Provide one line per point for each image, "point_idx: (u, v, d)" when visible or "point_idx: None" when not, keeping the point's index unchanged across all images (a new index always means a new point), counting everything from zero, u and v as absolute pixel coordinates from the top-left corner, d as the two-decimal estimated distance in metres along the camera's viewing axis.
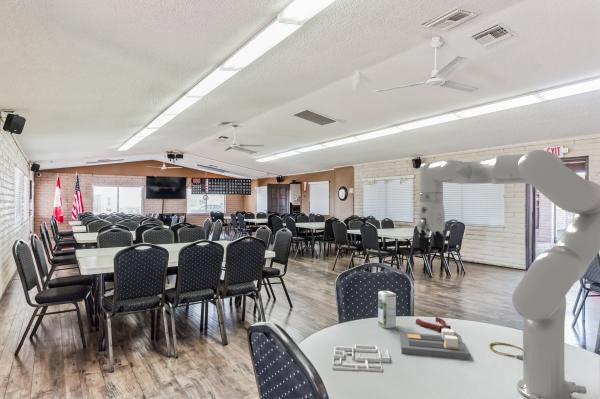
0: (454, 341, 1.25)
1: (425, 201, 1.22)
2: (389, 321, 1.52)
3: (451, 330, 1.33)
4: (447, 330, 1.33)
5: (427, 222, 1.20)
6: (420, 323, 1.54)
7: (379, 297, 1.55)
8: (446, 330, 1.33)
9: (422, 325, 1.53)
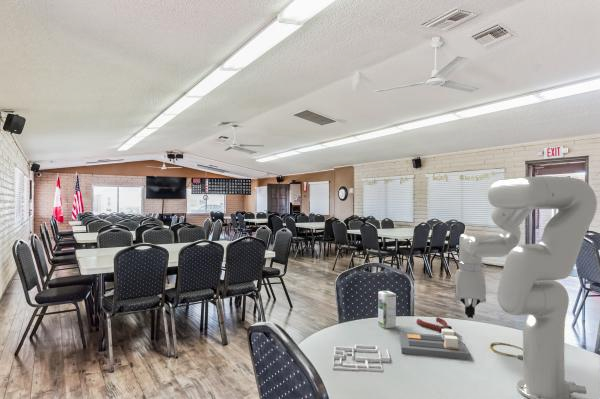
0: (454, 341, 1.25)
1: None
2: (389, 321, 1.52)
3: (451, 330, 1.33)
4: (447, 330, 1.33)
5: None
6: (421, 323, 1.54)
7: (379, 297, 1.55)
8: (446, 330, 1.33)
9: (423, 325, 1.53)
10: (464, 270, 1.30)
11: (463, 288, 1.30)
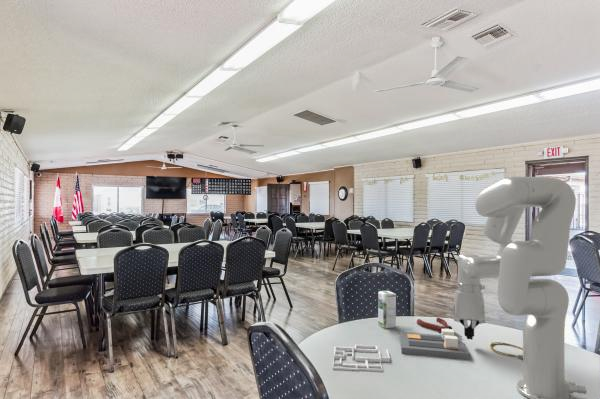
0: (454, 341, 1.25)
1: None
2: (389, 321, 1.52)
3: (451, 330, 1.33)
4: (447, 330, 1.33)
5: None
6: (421, 323, 1.54)
7: (379, 297, 1.55)
8: (446, 330, 1.33)
9: (423, 325, 1.53)
10: (463, 291, 1.30)
11: (462, 309, 1.30)
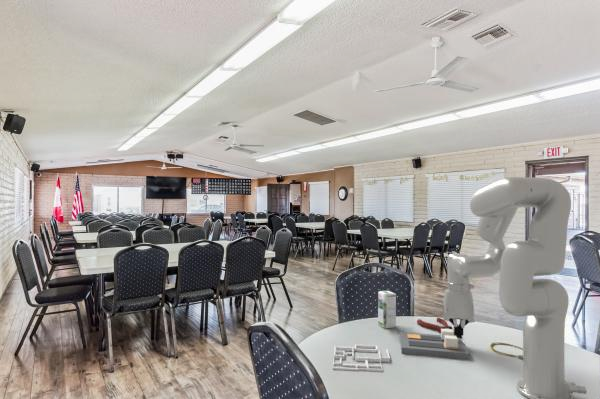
0: (454, 341, 1.25)
1: None
2: (389, 321, 1.52)
3: (451, 330, 1.33)
4: (446, 330, 1.33)
5: None
6: (421, 324, 1.53)
7: (379, 297, 1.55)
8: (446, 330, 1.33)
9: (423, 326, 1.52)
10: (452, 291, 1.31)
11: (451, 308, 1.31)
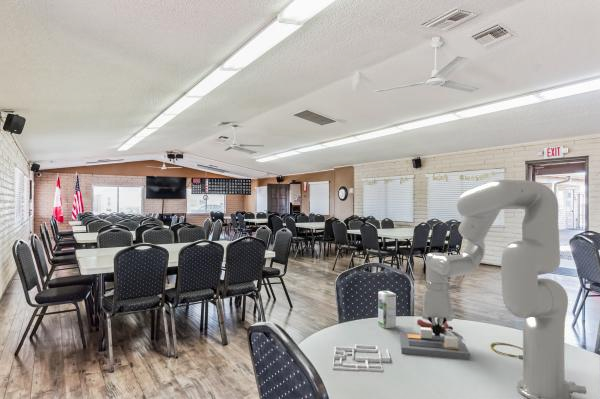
0: (454, 341, 1.25)
1: (447, 289, 1.33)
2: (389, 321, 1.52)
3: (429, 328, 1.35)
4: (425, 329, 1.35)
5: None
6: (422, 324, 1.53)
7: (379, 297, 1.55)
8: (424, 329, 1.35)
9: (424, 326, 1.52)
10: (430, 289, 1.32)
11: (429, 307, 1.33)
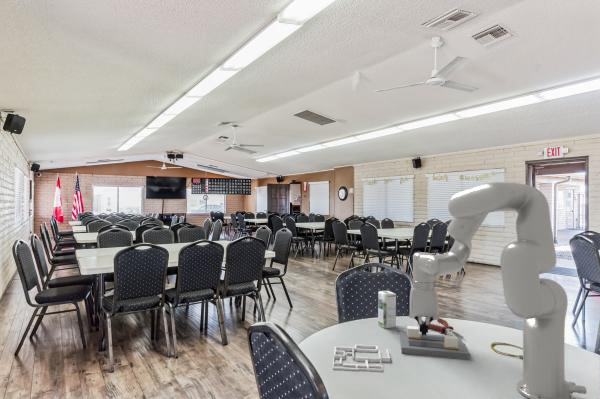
0: (454, 341, 1.25)
1: (433, 288, 1.35)
2: (389, 321, 1.52)
3: (416, 327, 1.36)
4: (412, 328, 1.36)
5: None
6: None
7: (379, 297, 1.55)
8: (411, 328, 1.36)
9: None
10: (417, 289, 1.34)
11: (416, 306, 1.34)
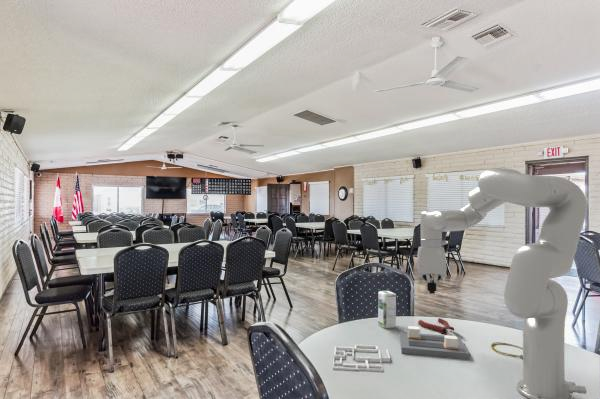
0: (454, 341, 1.25)
1: (441, 246, 1.34)
2: (389, 321, 1.52)
3: (417, 327, 1.36)
4: (413, 328, 1.36)
5: None
6: (423, 324, 1.53)
7: (379, 297, 1.55)
8: (412, 328, 1.36)
9: (425, 326, 1.52)
10: (425, 246, 1.33)
11: (424, 264, 1.33)
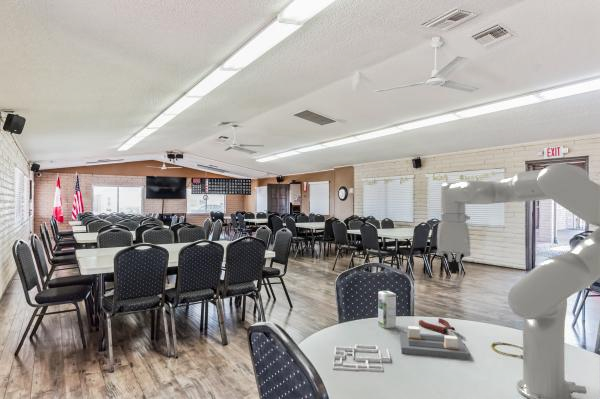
0: (454, 341, 1.25)
1: None
2: (389, 321, 1.52)
3: (417, 327, 1.36)
4: (413, 328, 1.36)
5: None
6: (423, 325, 1.52)
7: (379, 297, 1.55)
8: (412, 328, 1.36)
9: (425, 327, 1.51)
10: (446, 221, 1.20)
11: (445, 241, 1.20)
